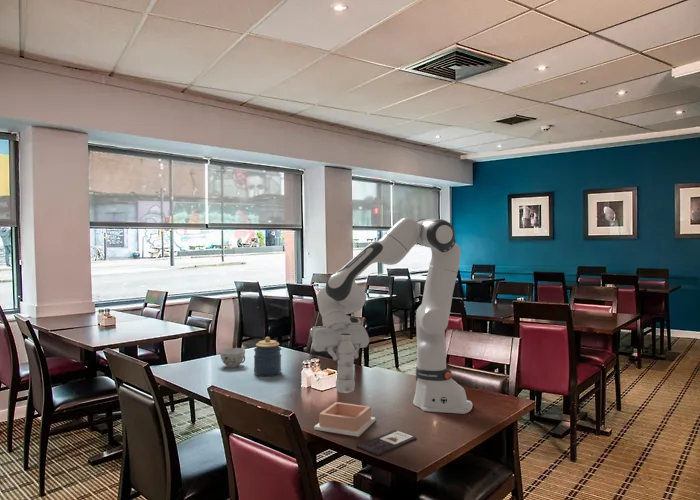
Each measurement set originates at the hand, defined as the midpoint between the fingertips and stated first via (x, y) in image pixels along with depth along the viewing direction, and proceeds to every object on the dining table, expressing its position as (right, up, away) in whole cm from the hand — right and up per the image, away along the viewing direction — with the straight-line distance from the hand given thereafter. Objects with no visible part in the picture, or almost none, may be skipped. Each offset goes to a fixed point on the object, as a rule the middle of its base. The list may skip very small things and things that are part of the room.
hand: (346, 358), depth 167 cm
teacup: (-57, -22, +81) cm, 102 cm away
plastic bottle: (0, -12, +1) cm, 12 cm away
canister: (-38, -22, +68) cm, 81 cm away
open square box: (0, -23, +1) cm, 23 cm away
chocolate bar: (+13, -24, -15) cm, 31 cm away
